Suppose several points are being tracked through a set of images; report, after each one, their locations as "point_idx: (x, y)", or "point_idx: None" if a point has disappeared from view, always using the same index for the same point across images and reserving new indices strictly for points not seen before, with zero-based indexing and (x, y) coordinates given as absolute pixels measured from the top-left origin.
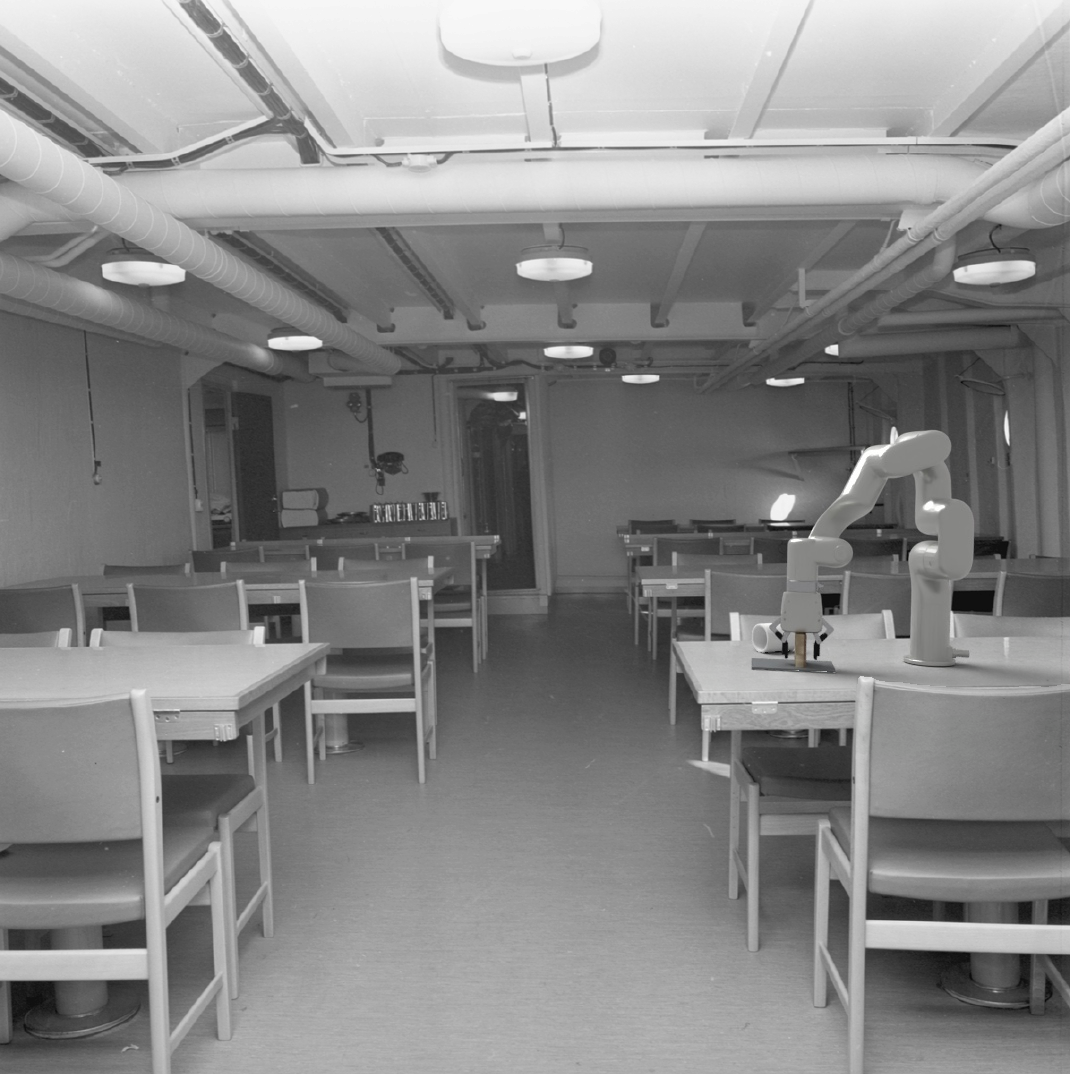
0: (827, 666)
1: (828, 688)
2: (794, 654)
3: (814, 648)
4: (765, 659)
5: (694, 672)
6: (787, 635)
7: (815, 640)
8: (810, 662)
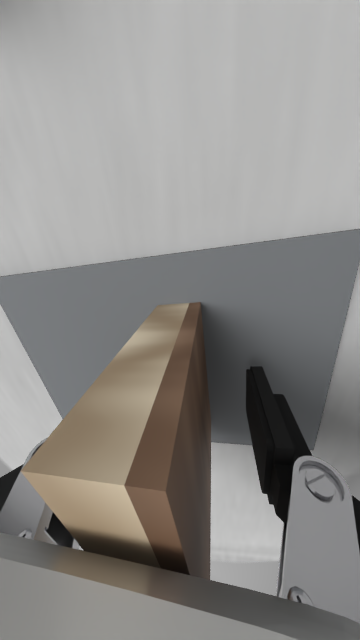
0: (298, 386)
1: (254, 548)
2: (147, 318)
3: (257, 466)
4: (44, 300)
5: (4, 460)
6: (70, 543)
7: (284, 505)
8: (231, 314)
